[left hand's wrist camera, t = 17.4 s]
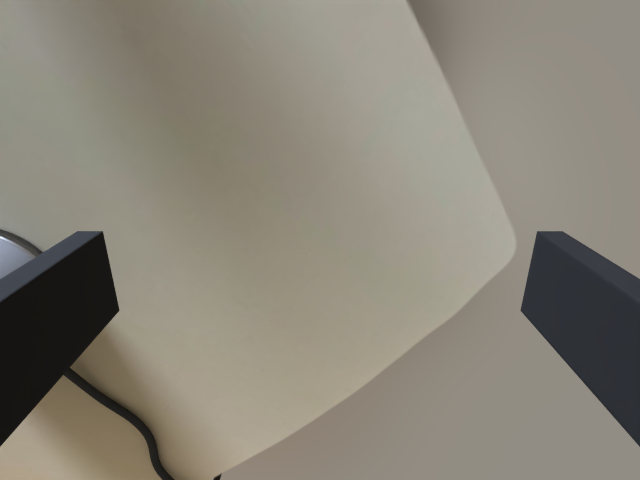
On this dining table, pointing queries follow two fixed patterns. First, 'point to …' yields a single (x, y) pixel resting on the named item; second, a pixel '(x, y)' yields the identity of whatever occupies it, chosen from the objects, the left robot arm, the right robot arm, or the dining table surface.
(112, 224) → the dining table surface
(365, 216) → the dining table surface
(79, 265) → the left robot arm
